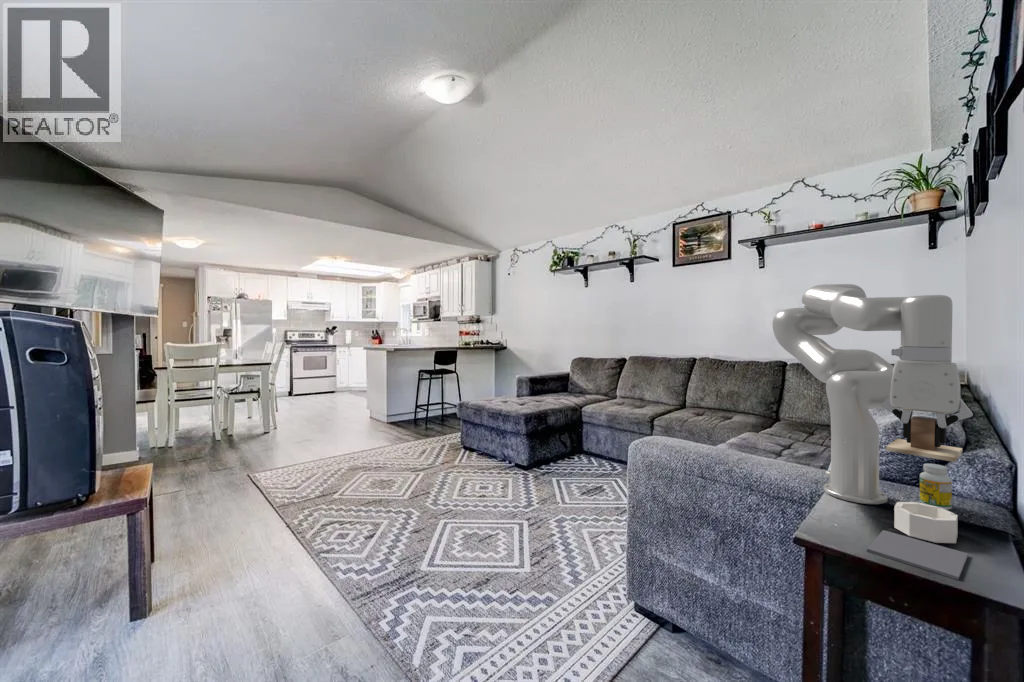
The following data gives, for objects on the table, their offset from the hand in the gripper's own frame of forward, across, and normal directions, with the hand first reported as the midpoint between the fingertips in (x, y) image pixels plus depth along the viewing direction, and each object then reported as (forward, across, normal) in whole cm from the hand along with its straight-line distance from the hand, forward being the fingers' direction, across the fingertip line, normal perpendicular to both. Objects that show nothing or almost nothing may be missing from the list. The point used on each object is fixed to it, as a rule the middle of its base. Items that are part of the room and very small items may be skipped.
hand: (923, 442), depth 87 cm
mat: (+18, +1, -13) cm, 23 cm away
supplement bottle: (+19, -1, +19) cm, 27 cm away
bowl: (+19, 0, 0) cm, 19 cm away
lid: (+2, 0, 0) cm, 2 cm away
